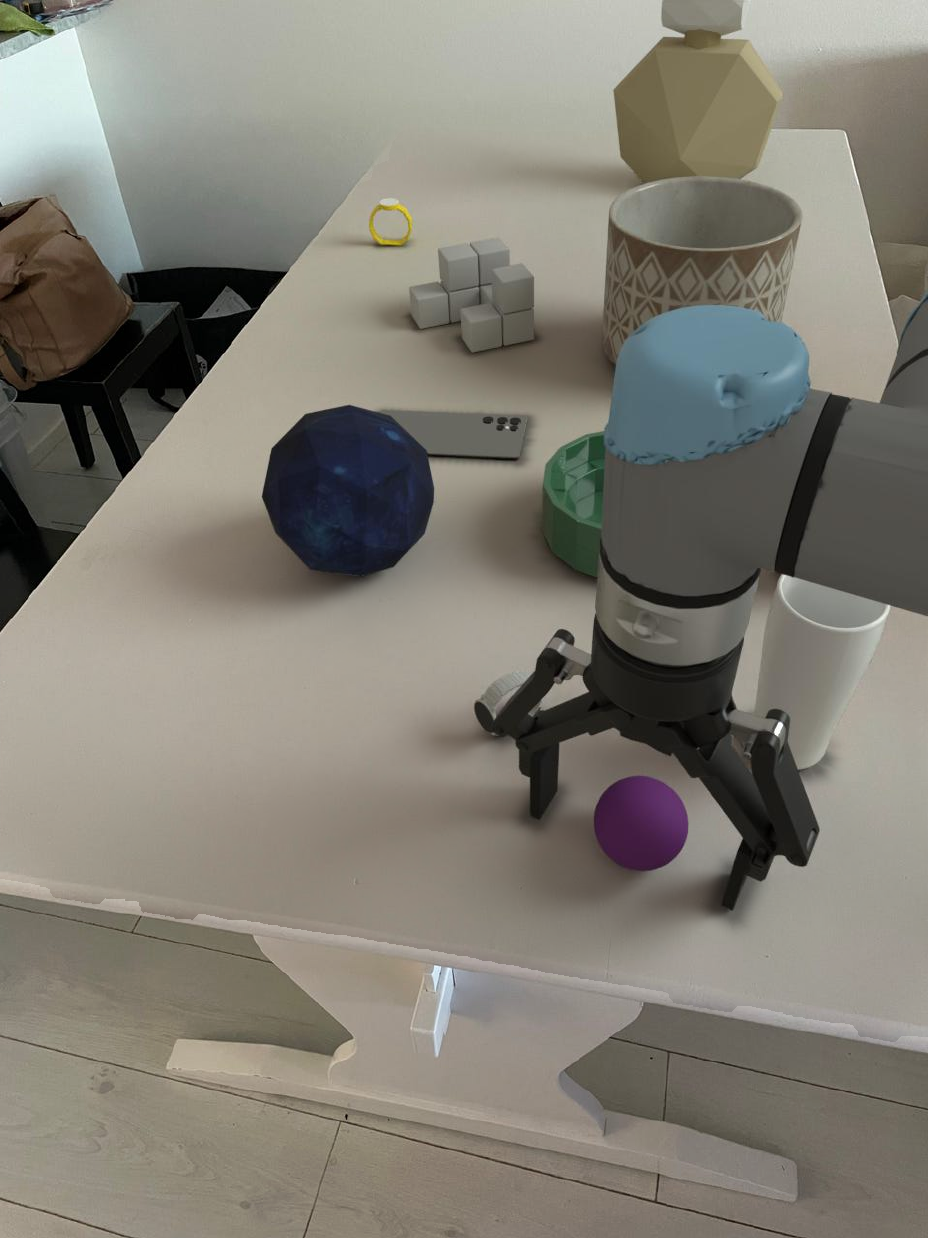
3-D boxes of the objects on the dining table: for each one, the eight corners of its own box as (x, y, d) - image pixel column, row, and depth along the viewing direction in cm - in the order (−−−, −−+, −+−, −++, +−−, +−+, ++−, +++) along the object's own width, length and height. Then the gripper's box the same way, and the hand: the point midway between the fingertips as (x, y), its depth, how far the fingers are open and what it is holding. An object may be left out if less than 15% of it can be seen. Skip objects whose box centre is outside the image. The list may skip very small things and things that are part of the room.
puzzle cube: (411, 315, 117) (405, 253, 111) (500, 297, 119) (499, 236, 114) (438, 360, 109) (433, 295, 103) (534, 340, 111) (534, 275, 105)
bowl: (735, 508, 86) (745, 454, 82) (673, 608, 77) (681, 554, 73) (587, 465, 92) (589, 413, 88) (513, 554, 83) (512, 500, 79)
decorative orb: (497, 514, 79) (411, 353, 75) (364, 605, 72) (263, 432, 68) (415, 536, 91) (338, 398, 87) (295, 617, 84) (205, 470, 80)
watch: (370, 248, 132) (365, 205, 128) (373, 240, 134) (368, 198, 130) (412, 247, 132) (408, 204, 128) (414, 239, 134) (410, 196, 130)
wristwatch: (473, 729, 69) (470, 685, 66) (526, 698, 71) (526, 653, 68) (496, 753, 68) (494, 710, 64) (550, 721, 70) (550, 677, 66)
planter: (762, 411, 97) (793, 257, 86) (583, 388, 103) (589, 240, 91) (780, 325, 110) (809, 181, 99) (620, 309, 115) (630, 170, 104)
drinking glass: (806, 799, 64) (860, 649, 53) (720, 748, 67) (755, 597, 56) (852, 739, 67) (912, 586, 56) (767, 693, 70) (809, 541, 60)
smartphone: (381, 409, 101) (527, 413, 98) (382, 413, 101) (527, 417, 99) (365, 449, 96) (519, 454, 93) (365, 454, 96) (519, 459, 93)
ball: (696, 832, 62) (708, 780, 58) (661, 904, 59) (671, 854, 54) (614, 796, 65) (619, 743, 60) (576, 863, 61) (579, 812, 57)
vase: (619, 164, 150) (632, -45, 131) (771, 176, 143) (809, -43, 124) (599, 192, 142) (609, -26, 123) (759, 206, 135) (797, -23, 116)
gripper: (421, 585, 49) (445, 809, 64) (911, 771, 39) (805, 985, 54) (491, 507, 54) (499, 734, 69) (947, 657, 44) (840, 884, 59)
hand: (634, 845), depth 62 cm, fingers open, 13 cm apart
